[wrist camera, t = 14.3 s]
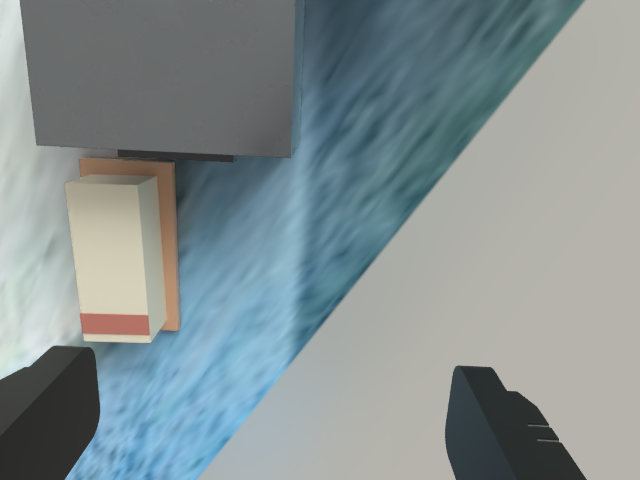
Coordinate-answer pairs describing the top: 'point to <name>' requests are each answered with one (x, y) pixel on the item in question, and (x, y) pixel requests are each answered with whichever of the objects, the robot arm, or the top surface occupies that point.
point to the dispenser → (167, 76)
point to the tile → (167, 218)
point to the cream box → (117, 256)
